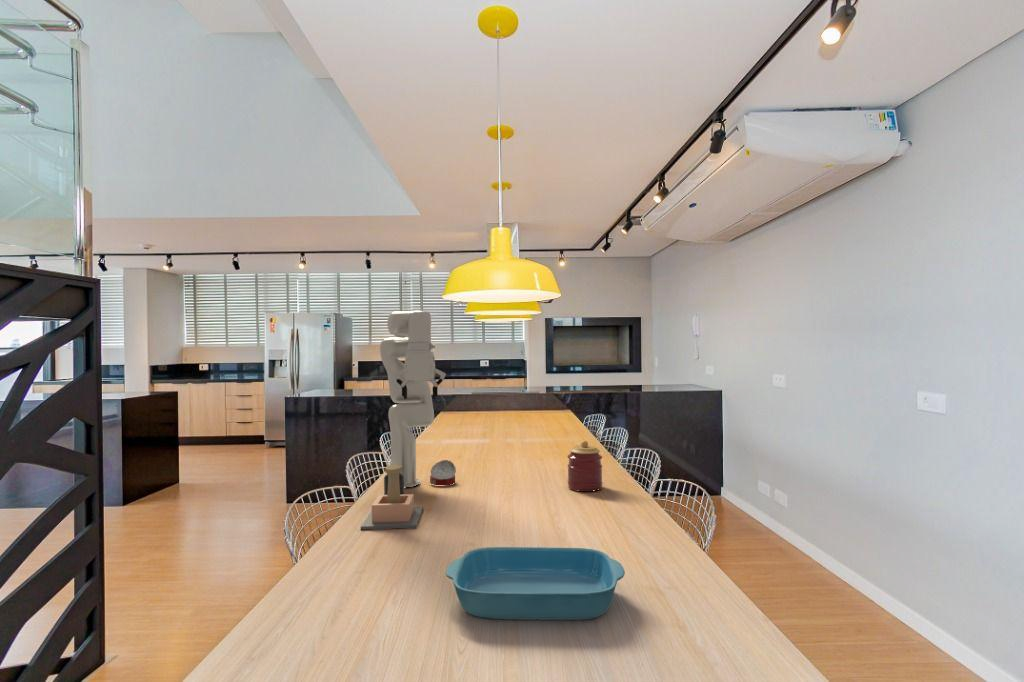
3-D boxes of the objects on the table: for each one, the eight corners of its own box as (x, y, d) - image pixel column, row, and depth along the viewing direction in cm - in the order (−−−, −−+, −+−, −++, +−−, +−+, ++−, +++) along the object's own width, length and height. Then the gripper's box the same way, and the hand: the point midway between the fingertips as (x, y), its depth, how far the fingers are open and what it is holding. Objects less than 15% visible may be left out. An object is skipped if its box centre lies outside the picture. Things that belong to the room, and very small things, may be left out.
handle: (403, 512, 163) (403, 464, 163) (400, 518, 156) (399, 469, 156) (387, 512, 162) (387, 464, 162) (384, 519, 156) (383, 469, 156)
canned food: (455, 493, 204) (465, 472, 202) (438, 497, 195) (449, 474, 194) (437, 477, 210) (447, 456, 208) (420, 479, 202) (430, 457, 200)
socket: (373, 510, 168) (373, 492, 168) (423, 509, 169) (422, 491, 169) (360, 530, 150) (360, 509, 150) (416, 528, 151) (416, 507, 151)
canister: (564, 491, 189) (564, 443, 189) (571, 482, 201) (570, 437, 201) (600, 494, 185) (599, 444, 185) (604, 484, 197) (604, 438, 198)
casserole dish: (436, 626, 97) (436, 588, 97) (456, 575, 120) (456, 544, 120) (633, 631, 95) (633, 592, 95) (616, 578, 117) (616, 546, 117)
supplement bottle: (406, 498, 181) (406, 464, 181) (400, 504, 174) (400, 469, 174) (387, 498, 182) (387, 464, 182) (381, 504, 175) (380, 468, 175)
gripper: (446, 347, 177) (446, 397, 177) (395, 347, 176) (395, 397, 176) (444, 347, 170) (444, 399, 170) (391, 347, 169) (391, 400, 169)
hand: (419, 398), depth 173 cm, fingers open, 9 cm apart
